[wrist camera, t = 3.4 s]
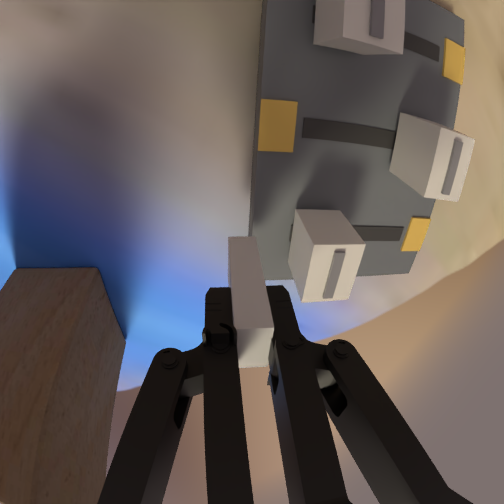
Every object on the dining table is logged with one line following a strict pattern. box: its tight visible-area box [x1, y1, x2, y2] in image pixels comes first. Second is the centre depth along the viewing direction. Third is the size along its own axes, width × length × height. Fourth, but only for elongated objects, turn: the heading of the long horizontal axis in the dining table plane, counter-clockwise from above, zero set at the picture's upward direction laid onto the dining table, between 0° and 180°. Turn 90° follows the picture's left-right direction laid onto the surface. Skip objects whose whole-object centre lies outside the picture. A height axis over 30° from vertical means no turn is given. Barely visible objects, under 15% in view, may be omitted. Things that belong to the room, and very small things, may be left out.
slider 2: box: [288, 209, 366, 303], centre depth 17 cm, size 3×4×4 cm
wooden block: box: [0, 267, 126, 504], centre depth 15 cm, size 10×10×20 cm
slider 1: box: [313, 0, 405, 55], centre depth 9 cm, size 3×4×4 cm
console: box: [248, 0, 465, 280], centre depth 16 cm, size 14×22×2 cm, turn 177°
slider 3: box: [389, 112, 475, 202], centre depth 14 cm, size 3×4×4 cm
